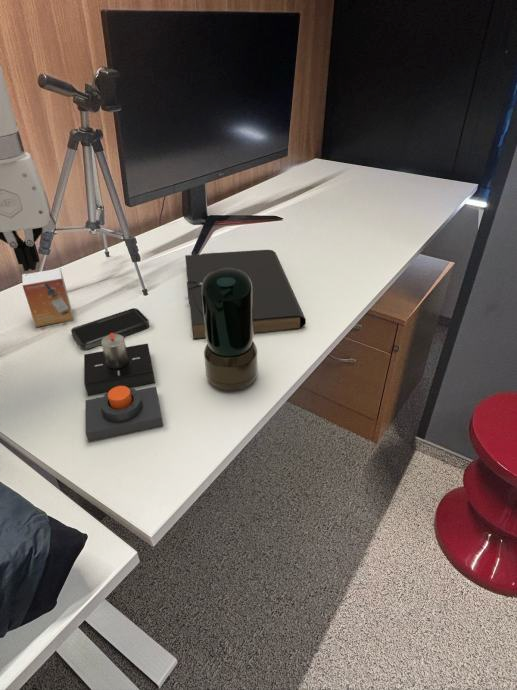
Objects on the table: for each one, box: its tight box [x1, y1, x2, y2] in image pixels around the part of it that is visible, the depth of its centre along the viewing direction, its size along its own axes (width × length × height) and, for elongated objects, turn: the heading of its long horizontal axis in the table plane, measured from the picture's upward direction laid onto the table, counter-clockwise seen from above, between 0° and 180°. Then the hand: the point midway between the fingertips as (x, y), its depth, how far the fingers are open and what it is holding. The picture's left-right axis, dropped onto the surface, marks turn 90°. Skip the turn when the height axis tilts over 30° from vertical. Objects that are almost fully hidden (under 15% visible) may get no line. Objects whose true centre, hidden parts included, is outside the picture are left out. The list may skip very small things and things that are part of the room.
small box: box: [21, 267, 74, 328], centre depth 104 cm, size 8×6×10 cm
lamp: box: [201, 267, 258, 391], centre depth 84 cm, size 10×10×22 cm
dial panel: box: [83, 343, 156, 397], centre depth 90 cm, size 12×9×3 cm
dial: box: [101, 333, 129, 369], centre depth 88 cm, size 4×4×5 cm
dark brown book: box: [184, 249, 307, 340], centre depth 113 cm, size 33×4×24 cm
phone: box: [70, 307, 150, 351], centre depth 103 cm, size 8×1×15 cm
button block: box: [84, 386, 164, 443], centre depth 80 cm, size 12×8×4 cm, turn 106°
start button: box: [108, 386, 132, 409], centre depth 79 cm, size 4×4×2 cm
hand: (30, 266), depth 77 cm, fingers closed
